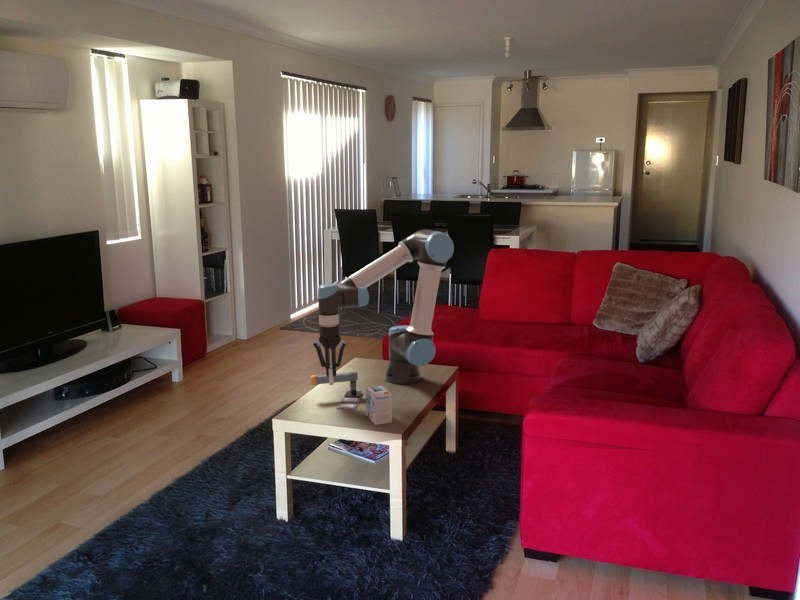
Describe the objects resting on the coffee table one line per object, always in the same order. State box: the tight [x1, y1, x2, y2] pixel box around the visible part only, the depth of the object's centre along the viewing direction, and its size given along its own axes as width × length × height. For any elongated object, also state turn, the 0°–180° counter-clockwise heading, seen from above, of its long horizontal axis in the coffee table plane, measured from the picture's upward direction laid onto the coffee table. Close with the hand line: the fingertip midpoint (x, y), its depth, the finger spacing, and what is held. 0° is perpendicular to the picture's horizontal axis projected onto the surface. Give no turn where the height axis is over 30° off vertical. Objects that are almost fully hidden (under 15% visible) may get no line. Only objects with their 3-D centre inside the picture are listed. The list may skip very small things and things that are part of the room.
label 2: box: [336, 403, 358, 411], centre depth 267 cm, size 7×5×1 cm
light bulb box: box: [365, 385, 393, 426], centre depth 253 cm, size 11×7×11 cm, turn 21°
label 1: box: [340, 397, 362, 404], centre depth 273 cm, size 7×5×1 cm
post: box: [344, 381, 363, 398], centre depth 279 cm, size 6×6×6 cm
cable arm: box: [309, 371, 359, 386], centre depth 276 cm, size 4×19×3 cm, turn 107°
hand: (331, 383), depth 273 cm, fingers closed
